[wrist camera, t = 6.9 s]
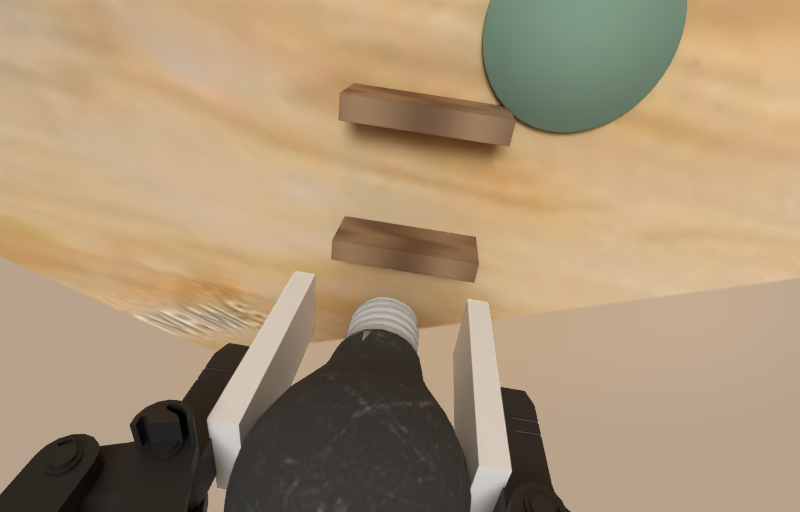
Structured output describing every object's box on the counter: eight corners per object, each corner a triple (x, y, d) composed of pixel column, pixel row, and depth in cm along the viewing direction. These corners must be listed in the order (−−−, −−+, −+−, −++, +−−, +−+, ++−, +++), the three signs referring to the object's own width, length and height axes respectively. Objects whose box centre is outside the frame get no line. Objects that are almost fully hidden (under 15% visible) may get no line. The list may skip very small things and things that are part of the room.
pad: (465, 116, 28) (465, 118, 27) (508, -99, 22) (509, -101, 22) (634, 142, 27) (637, 144, 27) (719, -69, 22) (726, -71, 21)
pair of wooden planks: (343, 233, 33) (331, 259, 29) (353, 83, 27) (339, 93, 24) (471, 254, 33) (473, 282, 29) (507, 106, 27) (516, 120, 24)
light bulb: (291, 266, 16) (98, 579, 7) (438, 229, 14) (422, 558, 6) (348, 375, 18) (258, 703, 9) (478, 351, 17) (509, 710, 8)
